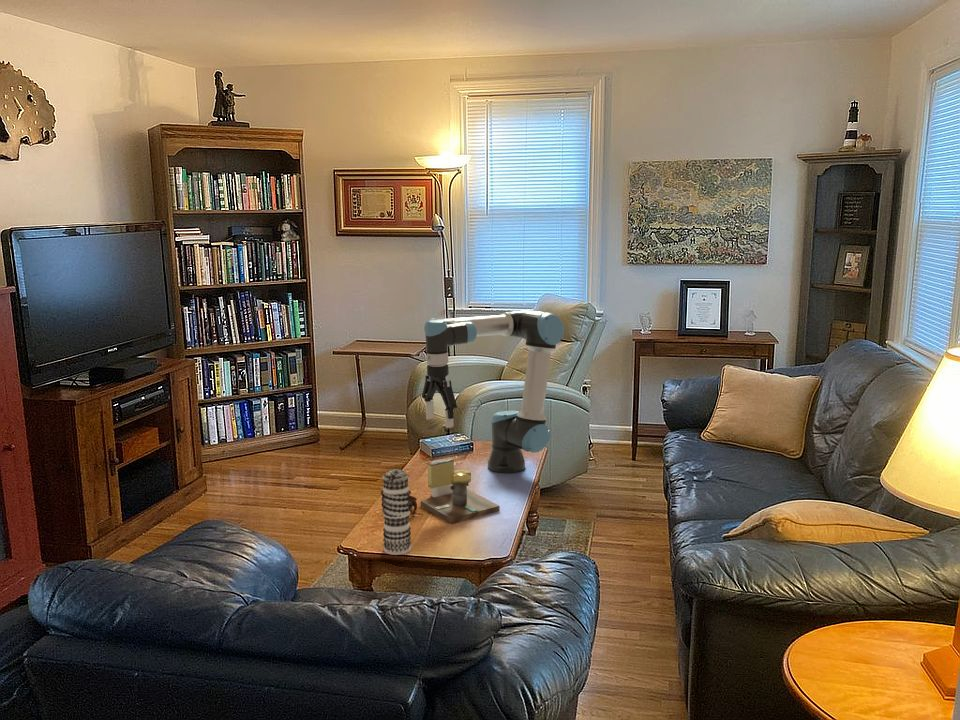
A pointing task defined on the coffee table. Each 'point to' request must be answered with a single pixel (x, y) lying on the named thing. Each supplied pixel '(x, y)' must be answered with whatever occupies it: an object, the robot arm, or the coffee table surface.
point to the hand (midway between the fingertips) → (439, 423)
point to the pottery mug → (413, 503)
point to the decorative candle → (396, 512)
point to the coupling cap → (446, 474)
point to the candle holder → (441, 488)
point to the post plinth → (459, 505)
